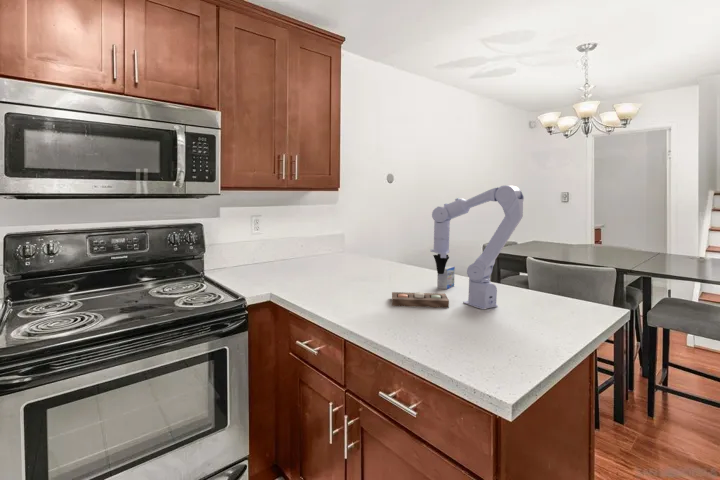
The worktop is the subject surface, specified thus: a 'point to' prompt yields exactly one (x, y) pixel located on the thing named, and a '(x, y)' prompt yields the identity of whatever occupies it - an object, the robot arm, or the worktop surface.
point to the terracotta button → (403, 295)
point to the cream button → (418, 295)
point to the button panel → (420, 300)
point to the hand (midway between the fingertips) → (440, 273)
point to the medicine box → (446, 278)
